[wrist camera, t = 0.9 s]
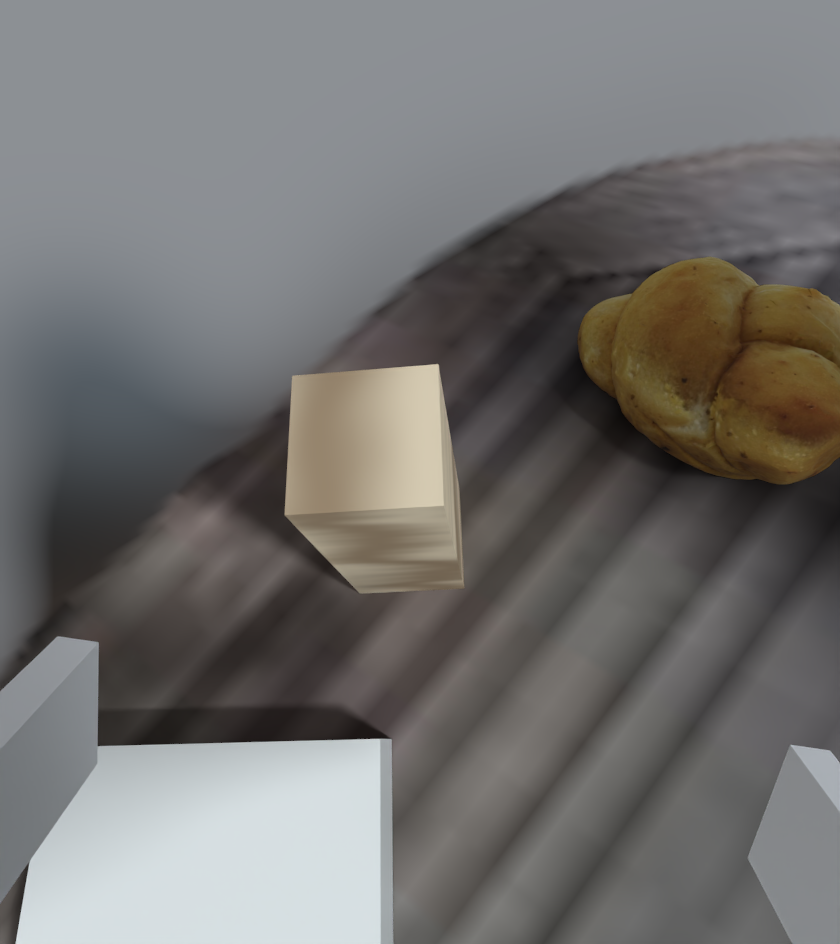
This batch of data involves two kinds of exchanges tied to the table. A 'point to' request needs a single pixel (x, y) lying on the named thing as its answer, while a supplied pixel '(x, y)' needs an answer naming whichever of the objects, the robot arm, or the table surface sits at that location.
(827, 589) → the table surface
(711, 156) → the table surface
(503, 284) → the table surface
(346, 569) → the beech block
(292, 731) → the table surface
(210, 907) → the stone tile base
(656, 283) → the bread roll
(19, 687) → the robot arm
